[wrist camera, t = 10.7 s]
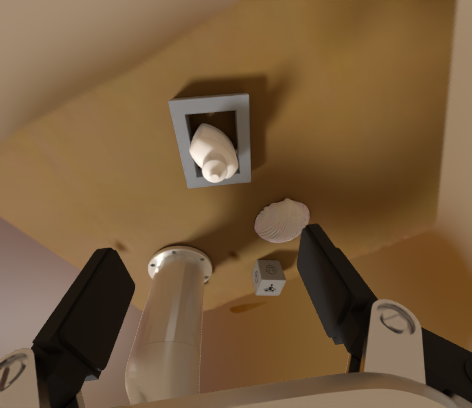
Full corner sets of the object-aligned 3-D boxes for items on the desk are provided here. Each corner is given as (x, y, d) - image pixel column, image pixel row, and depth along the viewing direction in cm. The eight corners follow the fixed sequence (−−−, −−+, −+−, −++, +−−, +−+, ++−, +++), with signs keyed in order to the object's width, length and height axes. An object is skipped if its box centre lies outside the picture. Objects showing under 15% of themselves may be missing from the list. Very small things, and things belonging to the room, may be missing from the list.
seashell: (323, 202, 32) (314, 255, 35) (307, 192, 37) (301, 239, 40) (261, 204, 30) (258, 259, 34) (254, 194, 35) (252, 242, 39)
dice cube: (251, 274, 44) (255, 295, 40) (257, 259, 42) (261, 279, 38) (272, 275, 45) (278, 295, 41) (279, 260, 43) (286, 280, 39)
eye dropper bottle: (220, 114, 26) (224, 138, 16) (236, 152, 29) (248, 193, 19) (190, 127, 26) (176, 159, 16) (209, 164, 29) (206, 210, 19)
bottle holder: (248, 173, 31) (251, 182, 28) (190, 179, 30) (187, 188, 28) (245, 92, 25) (248, 94, 22) (172, 98, 24) (168, 100, 22)
